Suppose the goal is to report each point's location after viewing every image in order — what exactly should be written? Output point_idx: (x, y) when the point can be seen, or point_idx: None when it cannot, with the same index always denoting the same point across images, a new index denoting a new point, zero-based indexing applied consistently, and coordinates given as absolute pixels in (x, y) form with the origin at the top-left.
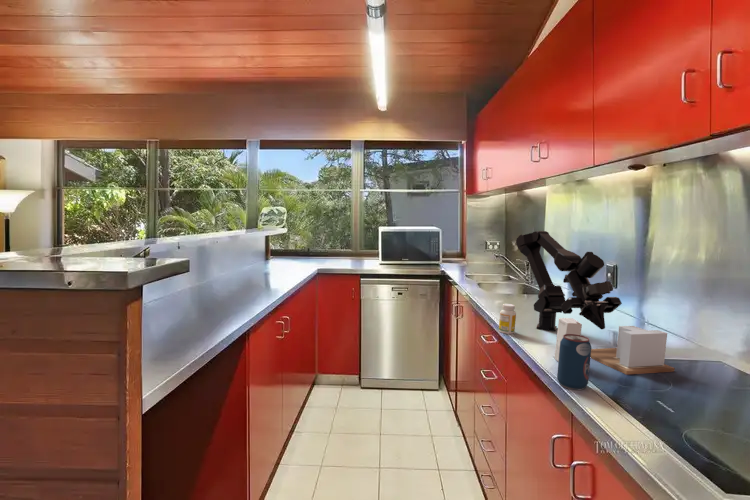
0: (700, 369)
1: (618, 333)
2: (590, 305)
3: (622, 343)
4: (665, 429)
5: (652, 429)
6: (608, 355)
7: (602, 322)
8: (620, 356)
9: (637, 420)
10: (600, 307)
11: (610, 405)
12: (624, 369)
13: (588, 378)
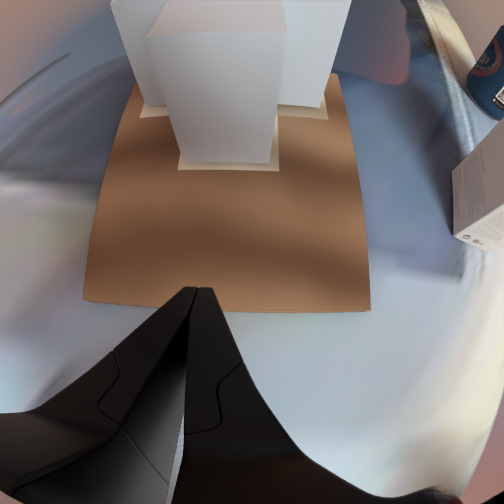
0: (52, 101)
1: (280, 74)
2: (434, 497)
3: (337, 41)
4: (403, 4)
5: (417, 10)
6: (279, 199)
7: (185, 315)
8: (324, 87)
9: (425, 20)
10: (62, 463)
11: (444, 44)
12: (335, 81)
13: (472, 68)
